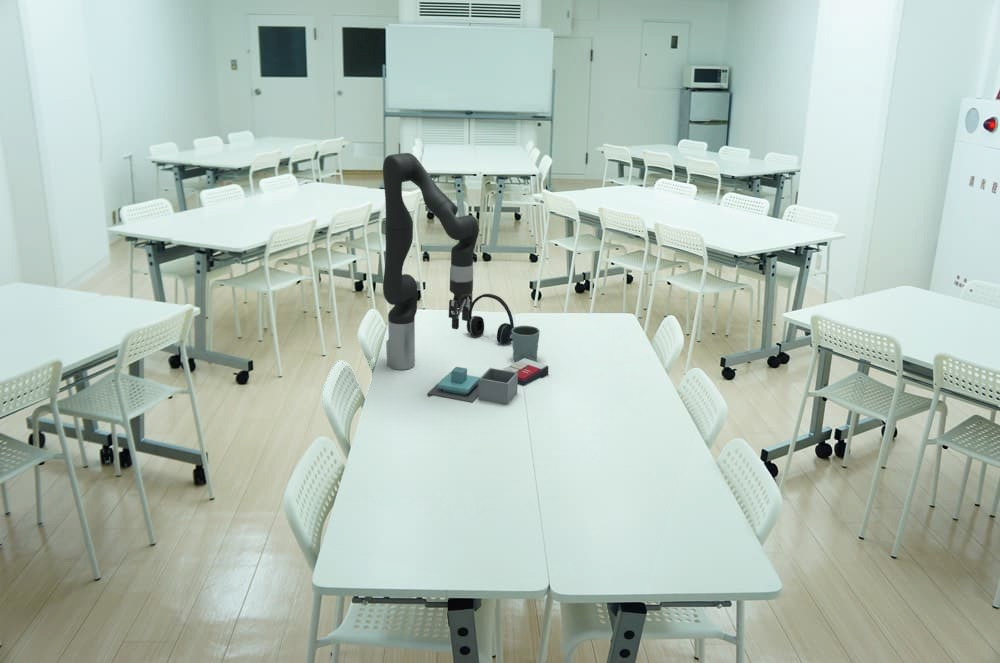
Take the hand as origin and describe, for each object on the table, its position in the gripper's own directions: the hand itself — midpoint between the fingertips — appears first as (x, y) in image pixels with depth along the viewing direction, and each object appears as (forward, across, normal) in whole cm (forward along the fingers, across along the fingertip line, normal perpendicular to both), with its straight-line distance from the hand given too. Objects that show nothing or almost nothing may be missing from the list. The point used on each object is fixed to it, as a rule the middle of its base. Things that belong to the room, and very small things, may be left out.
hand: (460, 324), depth 278 cm
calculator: (+24, -18, +17) cm, 34 cm away
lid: (+22, +2, +1) cm, 22 cm away
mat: (+23, +2, +1) cm, 23 cm away
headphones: (+24, -47, -7) cm, 53 cm away
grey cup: (+23, -32, +13) cm, 42 cm away
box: (+23, +2, +15) cm, 27 cm away
